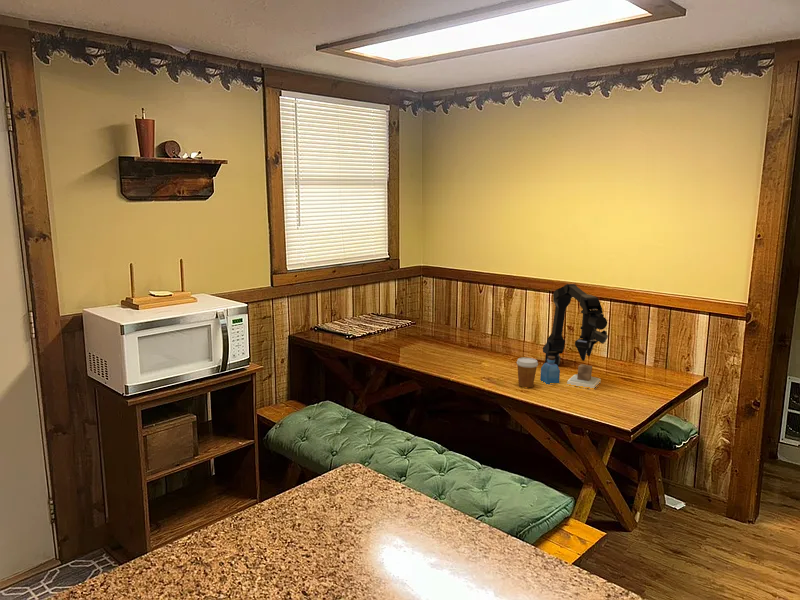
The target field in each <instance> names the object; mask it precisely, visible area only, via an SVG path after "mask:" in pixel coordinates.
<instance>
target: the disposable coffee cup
mask: <svg viewBox="0 0 800 600" xmlns="http://www.w3.org/2000/svg"><path fill="white" fill-rule="evenodd" d="M516 365H517V377H518V387H520V386H522V387H532V388H533V387H534V385H535V384H534V382H535V379H536V372H537V368H538V365H539V363H538V360H537V359H535V358H531V357H519V358H517V361H516ZM522 387H521V388H522Z"/></svg>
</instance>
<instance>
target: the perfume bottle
mask: <svg viewBox="0 0 800 600" xmlns="http://www.w3.org/2000/svg"><path fill="white" fill-rule="evenodd" d="M547 362H548V363H545V362H544V363H543V364H542V366H541V367H540V379H539V380H541V382H542V381H543V382H542V383H544V382H545V383H546V384H545V383H544V384H545V385H547V384H548V385H551V384H550V383H559V384H560V376H561V370H560V368H559V365H558V366H557V365H556V364H554V362H555V357H554V356H548V359H547Z"/></svg>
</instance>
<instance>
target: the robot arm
mask: <svg viewBox="0 0 800 600" xmlns="http://www.w3.org/2000/svg"><path fill="white" fill-rule="evenodd" d="M552 297H553V298H552V299H553V300H552V301H553V303H554V305H555V309H554V317H553V321H552V329H551V334H550V335H549V336H547V339H546V342H545V344H544V345H543V347H542V353H544V354H545V358H544V363H548V362H547V359H548V356H554V357H555V362H554V364H556V365H557V366H558V367H559V366H560V365H561V356H560V354H561V355H562V354H563V353H564V350H565V343H566V340H565V339H564V337H563V330H564V325H565V323H564V322H565V317H566V310H567V308H568V306H569V305H570V304H571V301H572V299H575V300H576V301H578V303H579V307H580V308H581V309H582V310H580V313H581V314H582V316H581V317H582V319H581V326H580V328H579V329H580V330H581V332H580V333H581V334H580V336H579V338H578V339H576V340H575V341H574V346H575V348H576V349H577V352H578V355H579V357H580V359H581V361H582V362H583V361H585V360H586V358H587V357H591V354H592V351H593V348H594V346H595V344H597V343H598V342H599V343H600V344H602V345H603V344H605V343H606V342H607V339H608V338H609V335H608V331H606V330H604V329H606V328H607V325H608V320H607V318H606V317H604V316H605V314H604V313H603V310H604V309H603V307H602V305H601V301H600V299H599V298H598V297H597V296H595V295H593V294H592V295H591V294H588V293H586V292H585V291H584V290H582V289H581V288H580V287H578V286H577V284H575V283H567V284H564V285H563V286H562V287H559V288H556V289H555V290H554V291H553V294H552ZM601 330H602V331H601Z"/></svg>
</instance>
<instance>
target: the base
mask: <svg viewBox="0 0 800 600" xmlns="http://www.w3.org/2000/svg"><path fill="white" fill-rule="evenodd" d="M577 375H578V373H576V374H573V375H572V376H571V377H569V379H568V380H567V381H566V385H567V384H571V385H576V386H583V387H590V388H595V387H596V385H598V384H599V382H600V383H601V381H602V380H601V378H598V377H596V376H591V379H590V380H589V381H584V380H578V379H577ZM599 385H600V384H599ZM599 385H598V386H599ZM596 388H597V387H596ZM596 388H595V389H596Z"/></svg>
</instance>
